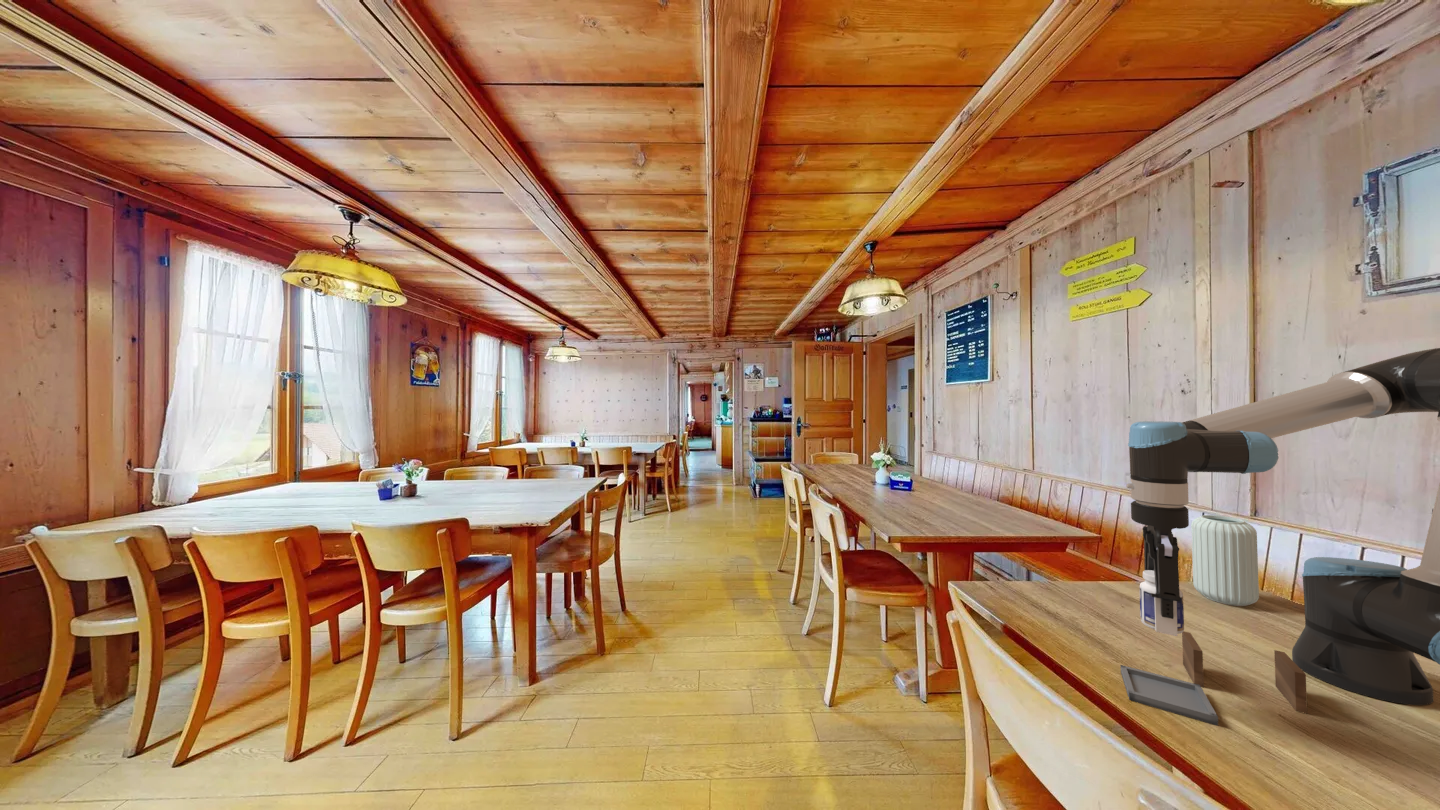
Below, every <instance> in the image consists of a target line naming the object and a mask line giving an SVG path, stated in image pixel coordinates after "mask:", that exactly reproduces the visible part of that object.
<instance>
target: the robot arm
mask: <svg viewBox="0 0 1440 810" xmlns="http://www.w3.org/2000/svg"><path fill="white" fill-rule="evenodd" d="M1407 413H1437V415H1436V416H1437V418H1436V419H1437V421H1438V422H1440V347H1436V348H1431V349H1430V348H1429V349H1426V350H1425V349H1424V350H1419V351H1415V352H1410V353H1406V354H1401V355H1399V356H1395V357H1391V358H1387V359H1384V360H1381V361H1380V360H1379V361H1376V362H1373V363H1370V364H1366V365H1363V366H1360V367H1356V368H1352V369H1350V370H1349V369H1348V370H1345V371H1343V372H1342V371H1341V372H1339V373H1336V374H1334V375H1332V376H1330V377H1329V378H1328V380H1326V382H1322V383H1319V384H1315V385H1312V386H1309V387H1305V388H1301V389H1297V390H1293V391H1290V392H1287V393H1283V394H1280V395H1276V396H1272V397H1268V398H1266V399H1262V400H1258V401H1254V402H1251V403H1247V404H1243V405H1240V406H1236V407H1233V408H1229V409H1225V410H1222V411H1219V412H1215V413H1212V414H1208V415H1203V416H1201V417H1196V418H1193V419H1190V420H1186V421H1183V422H1181V421H1165V420H1164V421H1162V420H1161V421H1156V420H1155V421H1154V420H1153V421H1146V420H1145V421H1134V422H1133V423H1132V424H1131V425H1130V426H1129V432H1128V443H1127V446H1128V449H1129V450H1128V453H1129V454H1128V455H1129V475H1130V482H1131V483H1126V486H1125V487H1126V489H1129V490H1130V498H1131V499H1132V500H1133V501H1132V502H1131V503H1130V513H1131V514H1130V517H1131V520H1132V521H1133V522H1135V523H1137V524H1140V525H1144V526H1143V527H1142V537H1143V553H1144V554H1143V555H1144V559H1143V560H1144V562H1143V563H1144V564H1143V565H1144V571H1145V570H1154V573H1155V585H1156V594H1153V593H1151V597H1154V602H1155V632H1156V633H1161V634H1165V635H1170V636H1174V637H1178V633H1177V601H1180V593H1179V590H1180V576H1179V575H1180V573H1179V572H1180V571H1179V552H1180V548H1179V546H1178V545H1179V544H1178V538H1177V537H1176V536H1174V534H1173V532H1172V531H1173V530H1174V529H1177V530H1180V529H1186V528H1188V527H1189V526H1190V522H1189V518H1190V517H1189V516H1190V515H1189V514H1190V513H1189V508H1188V507H1187V506H1186V505H1188V504H1189V482H1188V480H1189V479H1188V477H1189V474H1188V473H1224V474H1225V473H1227V474H1230V473H1231V474H1242V475H1244V474H1250V473H1251V474H1252V473H1254V474H1256V473H1264V472H1268V471H1271V470H1272V469H1273V468H1274V467H1275V466H1276V464H1278V462H1279V461H1278V460H1279V448H1278V446H1277V443H1276V442H1275V441H1274V440H1273V439H1274V438H1278V437H1281V436H1286V435H1289V434H1294V433H1297V432H1301V431H1306V430H1309V429H1313V428H1317V427H1321V426H1326V425H1329V424H1333V423H1338V422H1341V421H1344V420H1349V419H1353V418H1360V419H1376V418H1380V417H1383V416H1388V415H1395V414H1407ZM1301 576H1302V584H1303V585H1302V587H1303V588H1302V589H1303V601H1304V602H1303V605H1304V622H1305V626H1304V628H1303V630H1302V632H1301V633H1300V634H1299V636H1298V639H1297V641H1296V642H1295V644H1294V645H1293V647H1292V650H1291V657H1292V658H1291V659H1292V661H1293V662H1294V663H1295V664H1296V665H1297V666H1298V667H1299V668H1300V669H1301V670H1302V671H1303V672H1304V673H1307V674H1309V675H1311V676H1313V677H1315V678H1317V679H1319V680H1320V681H1321V680H1322V681H1323V682H1326V683H1328V684H1330V685H1332V686H1336V687H1338V688H1341V689H1344V690H1347V691H1350V692H1353V693H1356V694H1360V695H1362V696H1366V697H1370V698H1373V699H1374V698H1375V699H1376V700H1382V701H1388V702H1390V703H1391V702H1392V703H1398V704H1403V705H1410V706H1412V705H1413V706H1426V705H1431V704H1433V702H1434V689H1433V685H1432V684H1431V683H1430V681H1429V679H1428V676H1427V675H1426V673H1425V672H1424V669H1423V668H1422V666H1421V665H1420V663H1419V661H1418V659H1417V658H1416V656H1415V654H1416V655H1419V656H1421V657H1423V658H1426V659H1428V660H1430V661H1433V662H1435V663H1437V664H1438V665H1440V483H1439V484H1438V488H1437V492H1436V497H1435V502H1434V505H1433V510H1432V513H1431V519H1430V522H1429V527H1428V530H1427V535H1426V539H1425V544H1424V547H1423V552H1422V556H1421V560H1420V565H1418V566H1417V567H1413V568H1409V569H1407V568H1405V567H1402V566H1398V565H1396V564H1395V565H1394V564H1391V563H1384V562H1378V561H1372V560H1371V561H1370V560H1363V559H1356V558H1355V559H1354V558H1343V557H1333V556H1332V557H1330V556H1329V557H1327V556H1326V557H1325V556H1317V557H1315V556H1314V557H1310V558H1308V559H1306V560H1304V563H1303V573H1302V574H1301Z"/></svg>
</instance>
